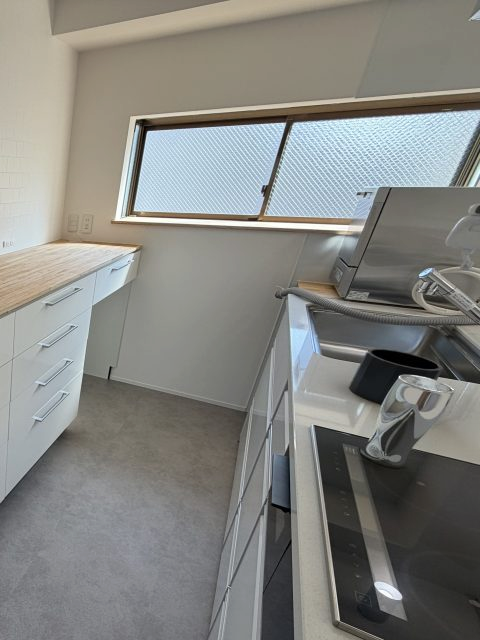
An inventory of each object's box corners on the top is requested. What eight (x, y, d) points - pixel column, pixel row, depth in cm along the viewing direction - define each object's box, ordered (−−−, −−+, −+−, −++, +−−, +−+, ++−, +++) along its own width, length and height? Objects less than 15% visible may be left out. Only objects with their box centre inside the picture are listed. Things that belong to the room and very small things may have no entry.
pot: (429, 403, 94) (453, 365, 90) (405, 413, 89) (428, 374, 85) (364, 380, 104) (382, 345, 100) (338, 389, 99) (356, 352, 94)
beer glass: (416, 465, 72) (466, 389, 65) (394, 473, 70) (443, 395, 63) (369, 443, 78) (411, 371, 71) (347, 450, 75) (388, 376, 69)
